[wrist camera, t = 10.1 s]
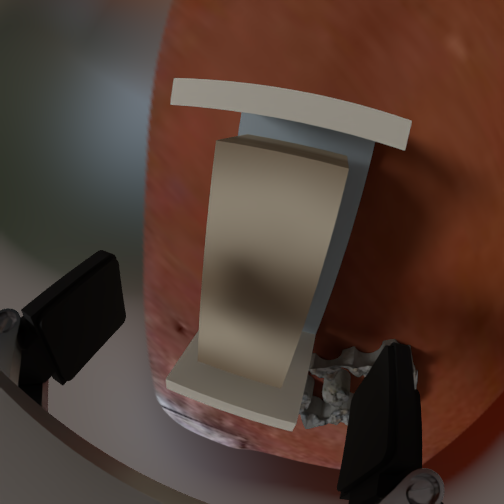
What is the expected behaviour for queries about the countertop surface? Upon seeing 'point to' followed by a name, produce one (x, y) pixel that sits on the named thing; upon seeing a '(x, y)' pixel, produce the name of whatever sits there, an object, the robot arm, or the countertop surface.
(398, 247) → the countertop surface
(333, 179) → the beige wavy block
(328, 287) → the peg stand
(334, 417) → the egg carton
